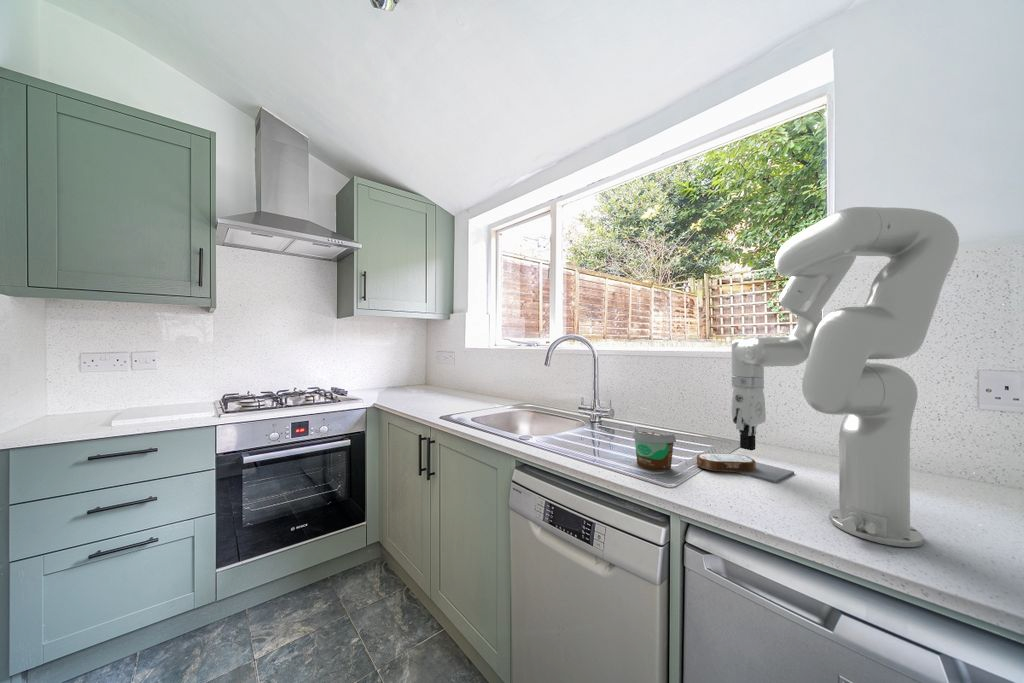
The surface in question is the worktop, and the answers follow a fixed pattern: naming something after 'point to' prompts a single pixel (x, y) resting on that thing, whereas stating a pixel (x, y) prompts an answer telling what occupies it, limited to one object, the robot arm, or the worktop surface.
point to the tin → (726, 462)
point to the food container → (653, 450)
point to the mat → (768, 473)
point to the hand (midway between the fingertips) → (747, 448)
